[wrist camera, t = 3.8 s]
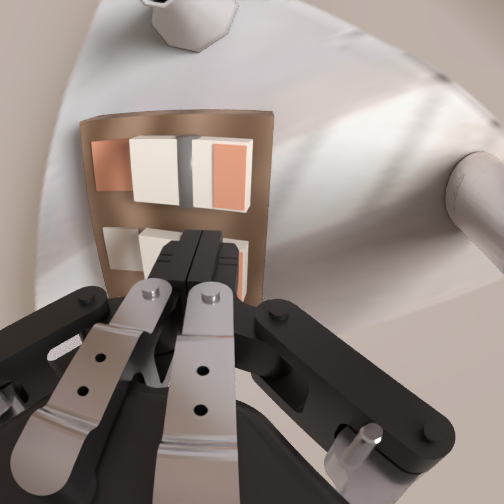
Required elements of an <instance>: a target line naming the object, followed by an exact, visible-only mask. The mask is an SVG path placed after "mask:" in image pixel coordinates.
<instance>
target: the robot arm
mask: <svg viewBox="0 0 504 504" xmlns="http://www.w3.org/2000/svg"><path fill="white" fill-rule="evenodd" d="M445 203H446V209H447V212H448V215H449V217H450V219H451V220H452V221H453V223H454V224H455V225H456V226H457V227H458V228H459V229H460V230H461V231H462V232H463V233H464V234H465V235H466V236H468V237H469V238H470V240H471V241H472V242H473V243H474V244H475V245H476V246H477V247H478V248H479V249H480V250H481V251H482V252H483V253H484V254H485V255H486V256H487V257H488V258H489V259H490V260H491V261H492V263H493V264H494V265H495V266H496V267H497V268H498V269H499V270H500V271H501V272H502V274H503V275H504V161H503V160H501V159H499V158H497V157H495V156H493V155H491V154H489V153H486V152H476V153H472V154H470V155H468V156H467V157H465V158H464V159H463V160H461V161H460V162H459V163H458V165H457V166H456V167H455V169H454V170H453V172H452V174H451V176H450V178H449V181H448V184H447V188H446V194H445ZM238 277H239V249H238V248H237V246H236V245H235V243H223V232H222V230H204V231H203V230H200V229H184V231H183V233H182V236H181V238H180V240H179V241H174V240H171V241H170V242H168V243H167V244H166V245H165V246H163V248H162V250H161V252H160V254H159V256H158V258H157V260H156V262H155V264H154V266H153V268H152V270H151V272H150V274H149V276H148V278H147V279H144V280H141V281H139V282H137V283H136V284H135V285H133V287H132V288H131V289H130V291H129V292H128V294H127V296H123V297H116V298H109V299H108V298H107V294H106V292H105V291H104V290H103V289H102V288H100V287H96V286H88V287H83V288H81V289H78V290H76V291H74V292H72V293H70V294H68V295H66V296H64V297H62V298H61V299H59V300H57V301H55V302H53V303H51V304H49V305H47V306H45V307H43V308H41V309H39V310H37V311H35V312H33V313H32V314H30V315H28V316H26V317H24V318H22V319H20V320H19V321H17V322H15V323H13V324H11V325H9V326H7V327H5V328H4V329H2V330H0V504H395V503H396V501H397V500H398V499H399V498H400V497H401V496H402V495H403V494H404V492H405V491H406V490H407V489H408V488H409V487H410V486H411V484H413V483H414V482H415V481H416V480H418V479H419V478H420V477H421V476H423V475H424V474H425V473H426V472H428V471H429V470H430V469H431V468H432V467H433V466H435V465H436V464H437V463H438V462H439V461H440V460H442V459H443V458H444V457H445V456H446V455H447V454H448V453H449V452H450V451H451V450H452V448H453V446H454V443H455V431H454V428H453V426H452V424H451V422H450V421H449V420H448V419H447V418H446V417H445V416H443V415H442V414H441V413H439V412H438V411H436V410H435V409H434V408H432V407H431V406H429V405H428V404H427V403H426V402H424V401H423V400H421V399H420V398H418V397H417V396H416V395H415V394H413V393H412V392H410V391H409V390H408V389H407V388H405V387H404V386H403V385H401V384H400V383H398V382H397V381H396V380H394V379H393V378H392V377H390V376H389V375H388V374H386V373H385V372H384V371H382V370H381V369H380V368H378V367H377V366H376V365H374V364H373V363H372V362H370V361H369V360H367V359H366V358H365V357H364V356H362V355H361V354H360V353H358V352H357V351H355V350H354V349H353V348H352V347H350V346H349V345H347V344H346V343H345V342H344V341H342V340H341V339H340V338H338V337H337V336H336V335H334V334H333V333H332V332H331V331H329V330H328V329H327V328H325V327H324V326H323V325H321V324H320V323H319V322H317V321H316V320H315V319H313V318H312V317H311V316H310V315H308V314H307V313H306V312H304V311H303V310H302V309H300V308H299V307H298V306H296V305H295V304H293V303H292V302H289V301H286V300H282V299H271V300H267V301H264V302H262V303H261V304H259V305H258V306H257V307H255V306H251V305H248V304H246V303H244V302H243V301H241V300H240V299H239V298H238V297H237V291H238ZM77 334H79V336H80V338H81V341H82V345H80V346H78V347H77V348H75V349H73V350H71V351H70V352H68V353H66V354H64V355H63V356H61V357H59V358H58V359H56V360H53V361H48V360H47V355H48V353H49V351H50V350H51V349H53V348H54V347H56V346H58V345H60V344H61V343H63V342H65V341H67V340H68V339H70V338H72V337H74V336H75V335H77ZM235 368H238V369H242V370H244V371H248V372H251V375H252V378H253V380H254V381H255V382H256V383H257V384H258V385H259V386H260V387H261V388H262V389H263V390H264V392H265V393H266V394H267V395H268V396H269V397H270V398H271V399H272V400H273V401H274V402H275V403H276V404H277V405H278V406H279V407H280V408H281V409H282V410H283V411H284V412H285V413H286V414H287V415H288V416H289V417H291V419H293V420H294V421H295V422H296V423H297V424H298V425H299V426H300V427H301V428H302V429H303V430H304V431H305V432H306V433H307V434H308V435H309V436H310V437H311V438H312V439H314V440H315V441H316V442H317V443H318V444H319V445H320V446H321V447H322V448H323V449H324V450H325V451H327V454H326V457H325V460H324V466H325V471H326V473H327V475H328V476H329V477H330V478H331V480H332V481H333V483H334V484H335V487H336V490H335V489H334V488H333V487H332V486H331V485H330V484H329V483H328V482H327V481H326V480H325V479H324V478H323V477H322V476H321V475H320V474H319V473H318V472H317V471H316V470H315V469H314V468H313V467H312V466H311V465H310V464H309V463H308V462H307V461H306V460H305V459H304V458H303V457H302V456H301V455H300V453H299V452H298V451H297V450H296V449H295V448H294V447H293V446H292V445H291V444H290V443H289V442H288V441H287V440H286V438H285V437H284V436H283V435H282V434H281V433H280V432H279V431H278V430H277V429H276V428H275V426H274V425H273V424H272V423H271V422H270V421H269V420H268V419H267V418H266V417H265V416H264V415H263V414H262V413H260V412H259V411H257V410H256V409H255V408H253V407H251V406H249V405H247V404H245V403H243V402H241V401H238V400H236V396H235ZM169 382H170V385H169ZM168 385H169V387H168Z"/></svg>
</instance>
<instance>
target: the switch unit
mask: <svg viewBox="0 0 504 504" xmlns="http://www.w3.org/2000/svg"><path fill="white" fill-rule="evenodd" d="M273 127H274V114H273V112H272V111H256V110H219V109H199V110H163V111H145V112H131V113H119V114H109V115H100V116H97V117H94V118H91V119H88V120H84V121H81V122H80V134H81V145H82V155H83V164H84V172H85V180H86V187H87V194H88V201H89V207H90V213H91V219H92V224H93V230H94V235H95V240H96V245H97V250H98V254H99V259H100V263H101V268H102V272H103V276H104V281H105V285H106V289H107V292H108V296H109V298H116V297H123V296H127V294H128V292H129V291H130V289H131V288H132V287H133V285H135V284H136V283H137V282H139V281H141V280H144V279H145V276H144V270H143V264H142V257H141V250H140V243H139V236H138V235H139V234H140V233H141V232H142V231H143V230H144V229H146V228H151V229H159V230H166V231H174V232H182V233H183V231H184V229H200V230H203V231H204V230H222V232H223V238H228V239H235V240H243V241H249V245H248V269H247V293H246V295H245V298H244V301H243V302H244V303H246V304H248V305H251V306H255V307H257V306H258V305H259V304H261V303H262V290H263V277H264V263H265V249H266V235H267V221H268V206H269V191H270V176H271V160H272V144H273ZM185 134H196V135H201V136H206V137H227V138H243V139H253V151H252V174H251V197H250V207H249V208H248V210H247V212H246V213H244V212H235V211H226V210H217V209H208V208H198V207H197V208H191V209H185V208H181V207H179V206H178V205H169V204H158V203H147V202H136V201H134V193H133V183H132V172H131V159H130V144H129V139H131V138H134V137H137V136H179V135H185Z"/></svg>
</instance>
